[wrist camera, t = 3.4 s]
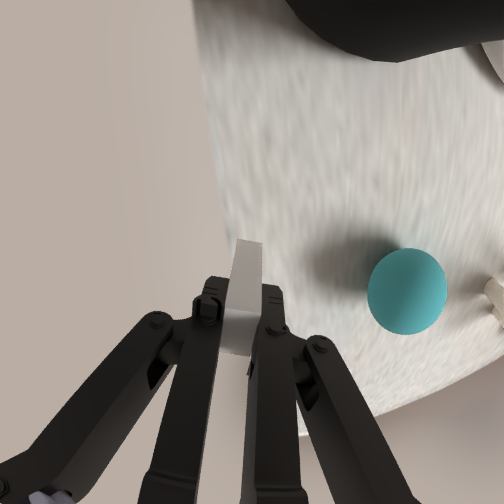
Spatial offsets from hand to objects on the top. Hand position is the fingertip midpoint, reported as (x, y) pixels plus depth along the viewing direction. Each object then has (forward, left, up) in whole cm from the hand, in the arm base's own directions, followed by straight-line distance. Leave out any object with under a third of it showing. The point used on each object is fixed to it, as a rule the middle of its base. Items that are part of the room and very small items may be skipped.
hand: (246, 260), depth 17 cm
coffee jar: (-19, +4, -2) cm, 20 cm away
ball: (0, +11, +1) cm, 11 cm away
